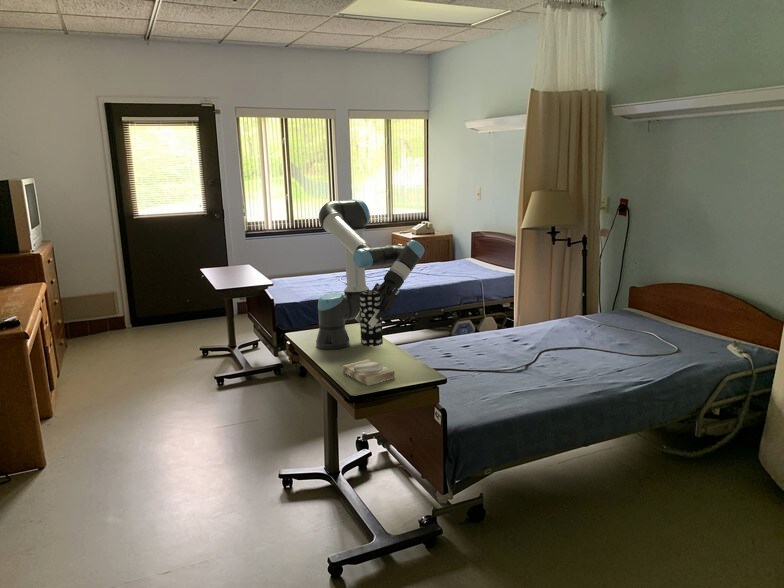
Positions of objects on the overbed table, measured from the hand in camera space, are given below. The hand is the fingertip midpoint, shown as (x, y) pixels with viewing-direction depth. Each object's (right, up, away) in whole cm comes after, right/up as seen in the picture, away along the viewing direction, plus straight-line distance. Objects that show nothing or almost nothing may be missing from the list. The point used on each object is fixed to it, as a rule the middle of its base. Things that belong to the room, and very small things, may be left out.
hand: (363, 323), depth 222 cm
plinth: (+1, -21, +6) cm, 22 cm away
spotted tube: (+3, -8, +4) cm, 10 cm away
